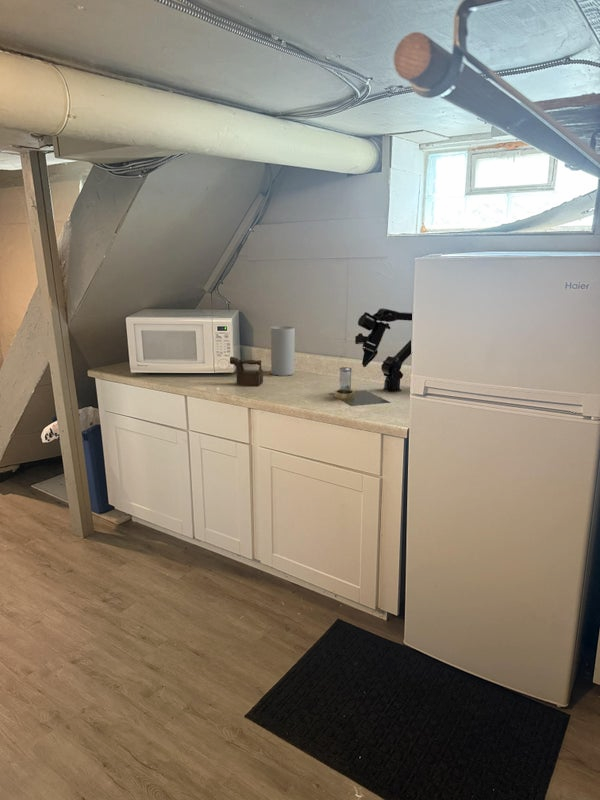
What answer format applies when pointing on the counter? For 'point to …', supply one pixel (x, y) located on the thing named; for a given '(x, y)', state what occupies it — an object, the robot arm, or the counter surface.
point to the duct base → (359, 398)
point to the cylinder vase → (282, 350)
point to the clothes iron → (247, 372)
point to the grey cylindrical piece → (345, 380)
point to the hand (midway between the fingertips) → (363, 366)
